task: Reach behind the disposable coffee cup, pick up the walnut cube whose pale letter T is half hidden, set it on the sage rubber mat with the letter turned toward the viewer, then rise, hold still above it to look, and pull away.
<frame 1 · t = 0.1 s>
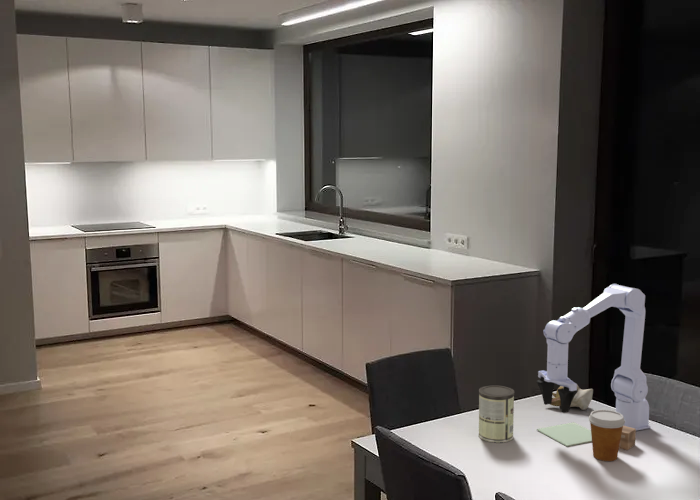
hand: (556, 408, 221), 10 cm above the table, fingers open, 7 cm apart
disposable coffee cup: (605, 457, 210), on the table
coffee can: (495, 437, 226), on the table
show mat: (570, 434, 227), on the table
ceramic sculpture: (569, 407, 251), on the table
letter cube: (622, 445, 218), on the table
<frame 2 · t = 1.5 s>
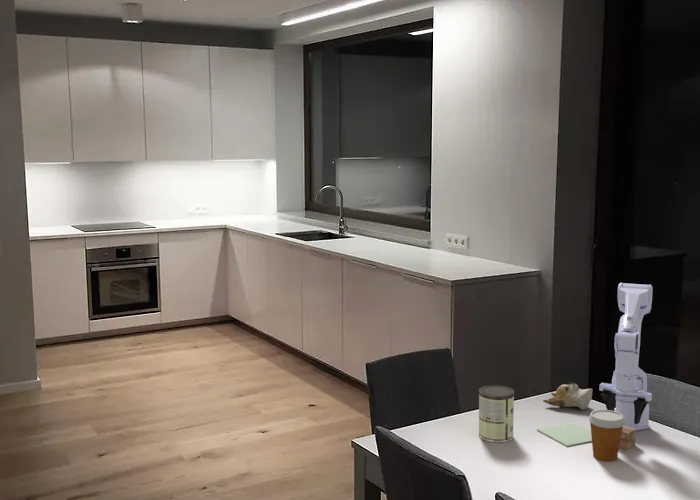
hand: (623, 419, 217), 8 cm above the table, fingers open, 7 cm apart
nothing on the table moved.
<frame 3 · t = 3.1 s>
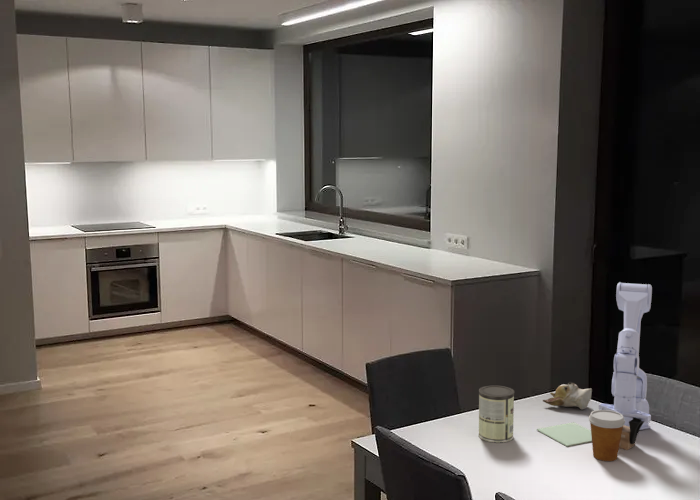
hand: (623, 440, 218), 1 cm above the table, fingers closed on letter cube, 5 cm apart
letter cube: (622, 445, 218), on the table, touching gripper
everything else where it was.
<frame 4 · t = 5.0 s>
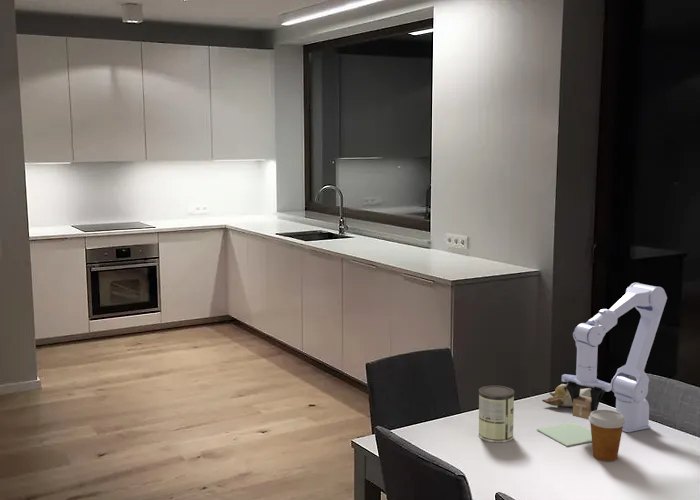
hand: (584, 409, 223), 8 cm above the table, fingers closed on letter cube, 5 cm apart
letter cube: (584, 415, 223), point 7 cm above the table, touching gripper
everything else where it was.
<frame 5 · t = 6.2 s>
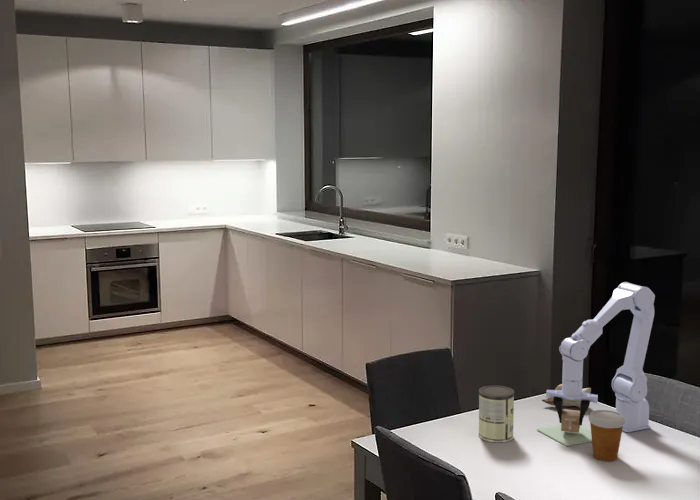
hand: (570, 423, 226), 4 cm above the table, fingers closed on letter cube, 5 cm apart
letter cube: (570, 428, 226), point 2 cm above the table, touching gripper
everything else where it was.
when the fingers open (3 cm above the table, at t = 7.3 s): letter cube stays where it is, resting on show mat.
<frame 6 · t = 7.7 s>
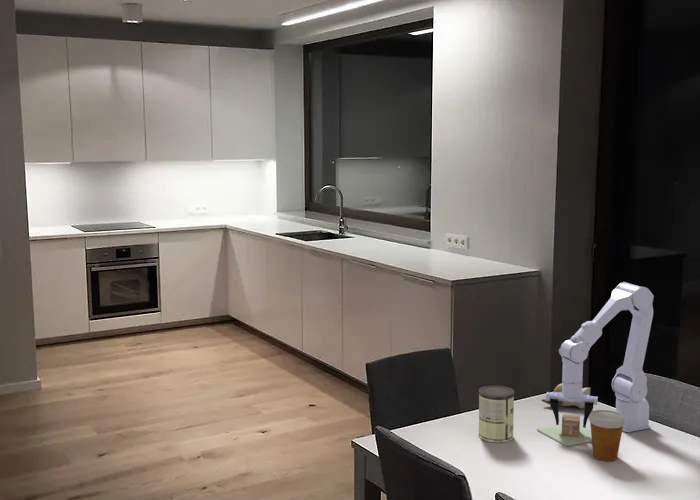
hand: (570, 425, 226), 3 cm above the table, fingers open, 7 cm apart
letter cube: (570, 433, 226), resting on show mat
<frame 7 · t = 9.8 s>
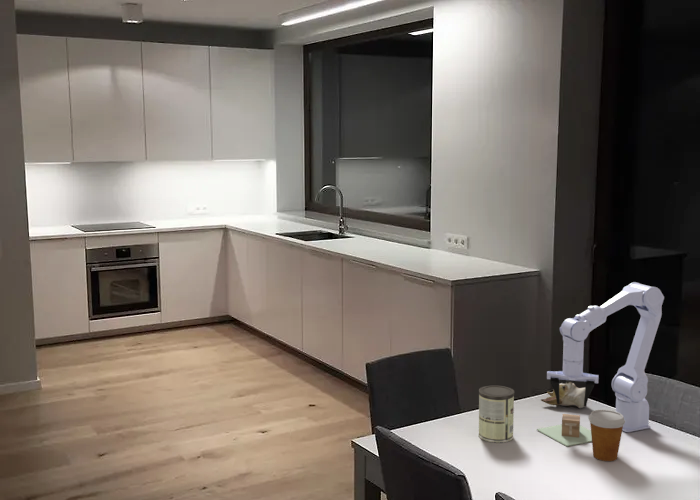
hand: (571, 404, 225), 9 cm above the table, fingers open, 7 cm apart
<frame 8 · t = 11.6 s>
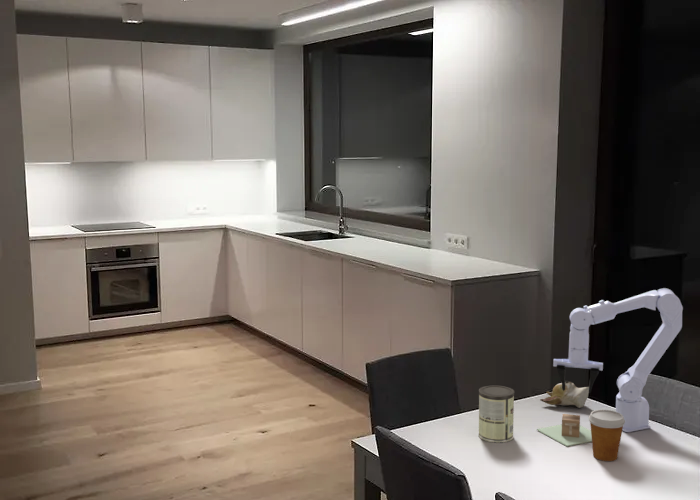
hand: (576, 390, 235), 10 cm above the table, fingers open, 7 cm apart
at the end: letter cube inside the target area on the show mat (0.2 cm from its centre), point 0.4 cm above the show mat's base; letter cube tilted 0°; disposable coffee cup moved 0.2 cm from its start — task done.
